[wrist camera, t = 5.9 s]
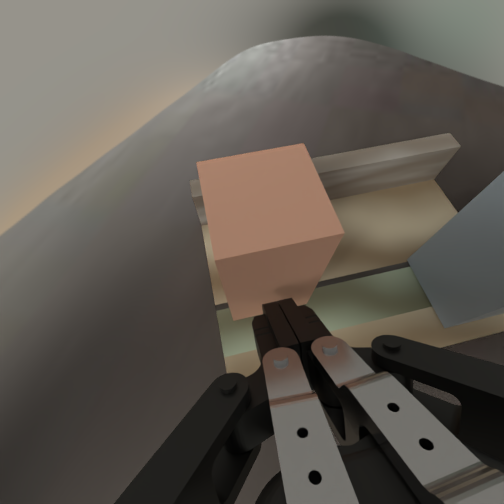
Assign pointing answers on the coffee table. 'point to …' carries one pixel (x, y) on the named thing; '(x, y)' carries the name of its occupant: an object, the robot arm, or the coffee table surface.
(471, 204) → the grey blue rectangular block
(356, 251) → the wooden tray
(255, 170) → the reddish brown block
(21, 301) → the coffee table surface
